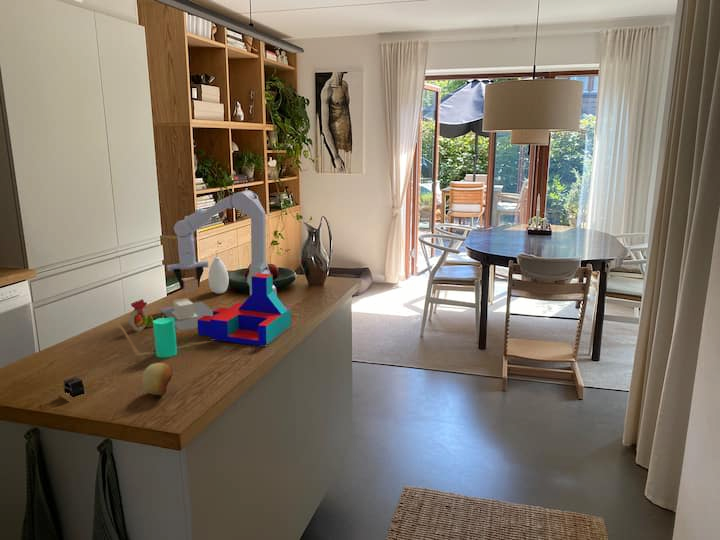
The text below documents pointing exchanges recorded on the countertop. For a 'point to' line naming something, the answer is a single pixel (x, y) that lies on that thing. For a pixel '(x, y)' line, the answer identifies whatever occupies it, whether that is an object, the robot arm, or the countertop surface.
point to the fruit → (157, 378)
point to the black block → (74, 386)
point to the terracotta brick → (190, 284)
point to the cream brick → (183, 308)
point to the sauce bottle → (218, 276)
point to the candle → (165, 337)
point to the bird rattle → (139, 321)
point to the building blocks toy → (249, 316)
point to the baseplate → (188, 322)
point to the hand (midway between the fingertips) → (189, 287)
